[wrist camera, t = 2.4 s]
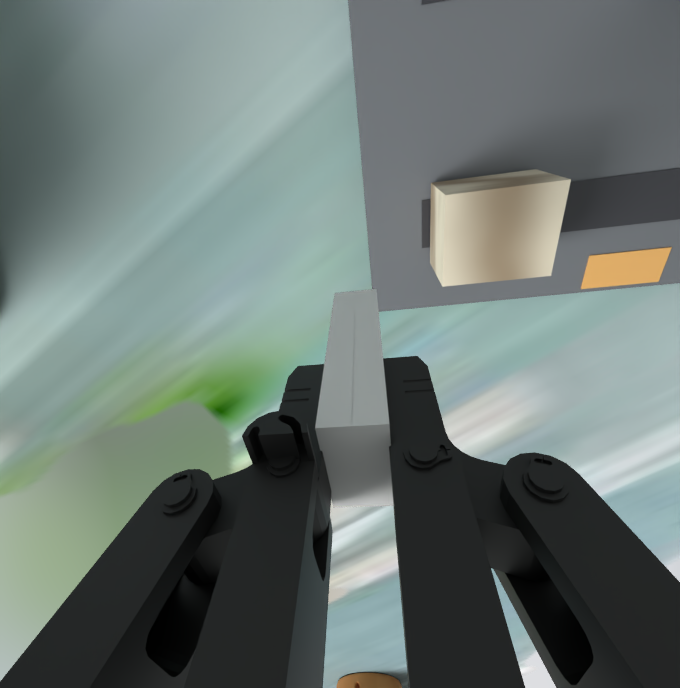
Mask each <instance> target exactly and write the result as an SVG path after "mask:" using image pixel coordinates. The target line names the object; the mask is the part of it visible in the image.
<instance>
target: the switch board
mask: <svg viewBox="0 0 680 688" xmlns="http://www.w3.org/2000/svg"><path fill="white" fill-rule="evenodd" d="M348 5H349V17H350V29H351V41H352V52H353V64H354V76H355V88H356V100H357V112H358V124H359V136H360V148H361V160H362V172H363V184H364V196H365V208H366V220H367V232H368V244H369V256H370V268H371V280H372V289H376V291H377V301H378V311H379V312H380V311H391V310H401V309H412V308H422V307H433V306H443V305H454V304H464V303H475V302H485V301H495V300H506V299H516V298H527V297H537V296H548V295H558V294H569V293H579V292H590V291H600V290H611V289H621V288H632V287H642V286H653V285H663V284H674V283H680V0H348ZM533 169H537V170H540V171H544V172H547V173H551V174H554V175H558V176H561V177H565V178H568V179H571V182H570V187H569V192H568V197H567V202H566V206H565V211H564V216H563V221H562V225H561V230H560V235H559V240H558V245H557V249H556V254H555V259H554V264H553V269H552V273H551V276H544V277H534V278H524V279H514V280H504V281H494V282H484V283H474V284H465V285H455V286H445V287H442V285H441V283H440V281H439V279H438V277H437V275H436V273H435V271H434V270H433V268H432V266H431V264H430V219H431V183H433V182H441V181H448V180H456V179H464V178H471V177H479V176H487V175H495V174H502V173H510V172H518V171H525V170H533Z"/></svg>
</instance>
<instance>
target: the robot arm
mask: <svg viewBox="0 0 680 688" xmlns="http://www.w3.org/2000/svg"><path fill="white" fill-rule="evenodd" d="M242 437H243V440H244V443H245V445H246V448H247V450H248V453H249V455H250V458H251V460H252V463H253V464H252V465H251V466H249V467H247V468H246V469H243V470H241V471H238V472H236V473H233V474H230V475H227V476H224V477H220V478H217V479H214V480H212V479H211V477H210V476H209V474H208V473H206V472H204V471H202V470H200V469H193V470H190V469H188V470H185V471H182V472H179V473H176V474H174V475H172V476H171V477H169V478H168V479H166V480H164V481H163V482H162V483H161V484H160V485H159V486H158V487H157V488H156V489H155V490H154V491H153V492H152V493H151V494H150V495H149V497H148V498H147V499H146V501H145V502H144V503H143V504H142V505H141V507H140V508H139V509H138V511H137V512H136V513H135V514H134V516H133V517H132V518H131V519H130V521H129V522H128V523H127V524H126V525H125V527H124V528H123V529H122V530H121V532H120V533H119V534H118V536H117V537H116V538H115V539H114V540H113V542H112V543H111V544H110V545H109V547H108V548H107V549H106V550H105V552H104V553H103V554H102V555H101V557H100V558H99V559H98V560H97V562H96V563H95V564H94V566H93V567H92V568H91V569H90V570H89V572H88V573H87V574H86V575H85V577H84V578H83V579H82V580H81V582H80V583H79V584H78V585H77V587H76V588H75V589H74V590H73V592H72V593H71V594H70V595H69V597H68V598H67V599H66V600H65V602H64V603H63V604H62V605H61V607H60V608H59V609H58V610H57V611H56V613H55V614H54V615H53V617H52V618H51V619H50V620H49V622H48V623H47V624H46V625H45V627H44V628H43V629H42V630H41V631H40V633H39V634H38V635H37V637H36V638H35V639H34V640H33V641H32V643H31V644H30V645H29V646H28V648H27V649H26V650H25V652H24V653H23V654H22V655H21V656H20V658H19V659H18V660H17V662H16V663H15V664H14V665H13V666H12V668H11V669H10V670H9V671H8V673H7V674H6V675H5V676H4V678H3V679H2V680H1V681H0V688H323V672H324V657H325V641H326V625H327V610H328V594H329V578H330V563H331V547H332V525H331V519H330V505H331V500H332V504H333V508H336V507H369V506H394V516H395V530H396V543H397V554H398V565H399V577H400V589H401V601H402V613H403V625H404V637H405V649H406V661H407V673H408V685H409V688H525V686H524V682H523V679H522V675H521V672H520V668H519V665H518V661H517V658H516V654H515V651H514V647H513V644H512V640H511V637H510V633H509V630H508V627H507V623H506V620H505V616H504V613H503V609H502V606H501V602H500V599H499V595H498V592H497V588H496V585H495V581H494V578H493V575H492V571H491V568H493V569H494V571H495V573H496V575H497V576H498V578H499V580H500V582H501V584H502V586H503V588H504V590H505V591H506V593H507V595H508V597H509V599H510V601H511V603H512V605H513V607H514V608H515V610H516V612H517V614H518V616H519V618H520V620H521V622H522V624H523V625H524V627H525V629H526V631H527V633H528V635H529V637H530V639H531V640H532V642H533V644H534V646H535V648H536V650H537V652H538V654H539V655H540V657H541V659H542V661H543V663H544V665H545V667H546V668H547V671H548V673H549V674H550V676H551V678H552V680H553V682H554V684H555V686H556V688H680V582H679V581H678V580H677V579H676V578H675V577H674V576H673V575H672V574H671V572H670V571H669V570H668V569H667V568H666V567H665V566H664V565H663V564H662V563H661V562H660V561H659V560H658V558H657V557H656V556H655V555H654V554H653V553H652V552H651V551H650V550H649V549H648V548H647V547H646V546H645V544H644V543H643V542H642V541H641V540H640V539H639V538H638V537H637V536H636V535H635V534H634V533H633V532H632V530H631V529H630V528H629V527H628V526H627V525H626V524H625V523H624V522H623V521H622V520H621V519H620V518H619V516H618V515H617V514H616V513H615V512H614V511H613V510H612V509H611V508H610V507H609V506H608V505H607V504H606V503H605V501H604V500H603V499H602V498H601V497H600V496H599V495H598V494H597V493H596V492H595V491H594V490H593V489H592V487H591V486H590V485H589V484H588V483H587V482H586V481H585V480H584V479H583V478H582V477H581V476H580V475H579V474H578V473H577V472H576V471H575V470H574V469H572V468H571V467H570V466H569V465H567V464H566V463H564V462H562V461H560V460H558V459H556V458H554V457H552V456H549V455H544V454H539V453H524V454H519V455H517V456H515V457H513V458H511V459H510V460H509V461H508V463H507V464H506V465H502V464H497V463H493V462H488V461H484V460H480V459H477V458H474V457H471V456H469V455H467V454H465V453H463V452H461V451H460V450H459V449H458V448H456V447H455V446H454V445H453V444H452V442H451V441H450V440H449V439H448V436H447V434H446V432H445V428H444V425H443V421H442V417H441V414H440V410H439V406H438V403H437V399H436V395H435V392H434V388H433V384H432V381H431V377H430V373H429V370H428V366H427V365H426V364H425V363H424V362H423V361H422V360H421V359H420V358H419V357H418V356H411V357H398V358H384V359H383V353H382V342H381V332H380V322H379V311H378V301H377V291H376V289H371V290H361V291H350V292H340V293H335V294H334V301H333V308H332V315H331V322H330V329H329V336H328V343H327V349H326V356H325V363H324V364H320V365H307V366H298V367H297V368H296V369H295V370H294V371H293V372H292V374H291V375H290V376H289V377H288V380H287V384H286V387H285V392H284V394H283V398H282V403H281V405H280V409H279V411H276V412H271V413H268V414H266V415H264V416H261V417H259V418H257V419H256V420H255V421H254V422H253V423H251V424H250V425H249V426H248V427H247V429H246V430H245V432H244V434H243V435H242Z"/></svg>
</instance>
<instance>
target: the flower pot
mask: <svg viewBox="0 0 680 688" xmlns="http://www.w3.org/2000/svg"><path fill="white" fill-rule="evenodd" d="M337 688H402V686H401V683H400V682H399V680H398V679H396V678H395V677H392V676H389V675H386V674H381V673H367V672H365V673H355V674H350V675H347V676H344V677H342V678H341V679H340V680H339V681H338V683H337Z"/></svg>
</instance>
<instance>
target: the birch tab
mask: <svg viewBox="0 0 680 688" xmlns="http://www.w3.org/2000/svg"><path fill="white" fill-rule="evenodd" d="M570 182H571V179H568V178H565V177H561V176H558V175H554V174H551V173H547V172H544V171H540V170H537V169H533V170H525V171H518V172H510V173H502V174H495V175H487V176H479V177H471V178H464V179H456V180H448V181H441V182H433V183H431V219H430V264H431V266H432V268H433V270H434V271H435V273H436V275H437V277H438V279H439V281H440V283H441V285H442V287H445V286H455V285H465V284H474V283H484V282H494V281H504V280H514V279H524V278H534V277H544V276H551V273H552V269H553V264H554V259H555V254H556V249H557V245H558V240H559V235H560V230H561V225H562V221H563V216H564V211H565V206H566V202H567V197H568V192H569V187H570Z"/></svg>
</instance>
